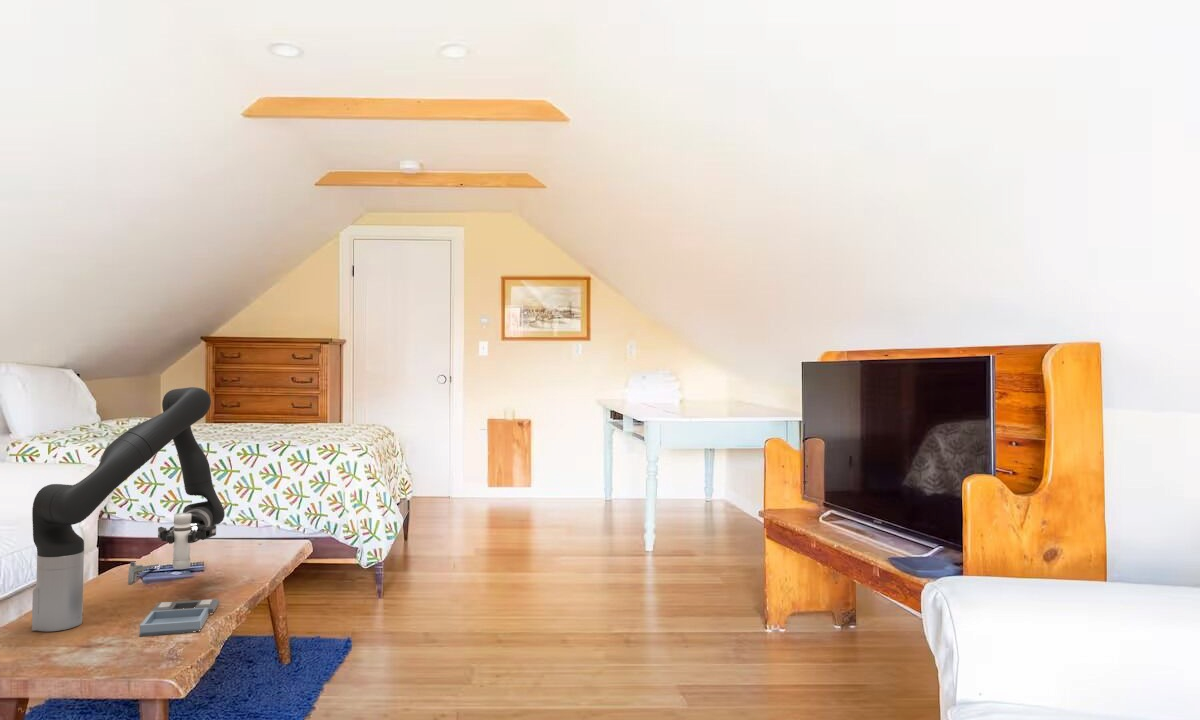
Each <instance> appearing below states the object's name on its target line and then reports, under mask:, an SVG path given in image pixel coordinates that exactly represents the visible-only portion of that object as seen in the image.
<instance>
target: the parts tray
mask: <svg viewBox="0 0 1200 720" xmlns="http://www.w3.org/2000/svg"><path fill="white" fill-rule="evenodd" d="M207 617H208V618H209V615H208V608H192V609H177V610H161V611H152V610H151V611H150V612H149V614H148V615H147V616H146V617H145V619H144V620H143V621H142V622H141V623H140V625H139V637H148V636H149V637H150V636H163V635H165V634H166V635H174V634H173V633H180V634H184V633H183V632H193V631H199V630H200V629H201V627H202V626H203V624H204V622H205V621H206V619H207ZM207 620H208V619H207ZM206 622H207V621H206ZM206 622H205V623H206ZM204 625H205V624H204ZM203 627H204V626H203ZM201 630H202V629H201ZM166 635H165V636H166Z"/></svg>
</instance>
